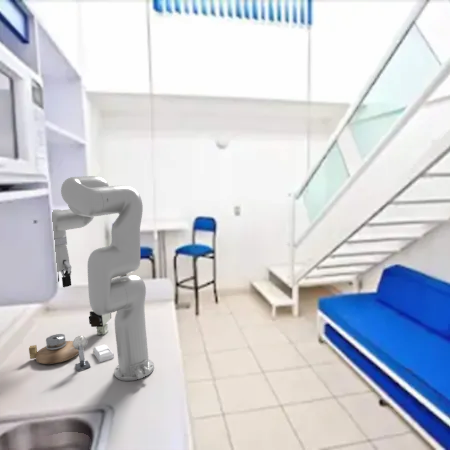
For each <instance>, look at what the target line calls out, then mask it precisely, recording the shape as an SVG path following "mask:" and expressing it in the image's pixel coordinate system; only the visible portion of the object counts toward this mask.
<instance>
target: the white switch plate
mask: <svg viewBox="0 0 450 450" xmlns="http://www.w3.org/2000/svg"><path fill="white" fill-rule="evenodd" d="M92 353H93V354H94V356H95V357H96V359H97V360H98V362H99V363H102V362H105V361H108V360H111V359H114V358H115V356H114V353H113V351H112V350H111V348H109V346H108V345H107V344H104V343H103V344H101V345H97V346H94V347H93V348H92Z"/></svg>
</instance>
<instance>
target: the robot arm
mask: <svg viewBox="0 0 450 450" xmlns="http://www.w3.org/2000/svg"><path fill="white" fill-rule="evenodd" d="M60 195H61V197H62V199H63V201H64V203H66V204H67V206H68V209H56V208H55V209H52V210H53V212H52V222H53V231H54V240H55V252H56V263H57V272H58V273H61V276H62V277H61V281H62V283H61V284H62V288H67V287H71V286H72V280H71V279H72V278H71V275H72V266H71V264H70V263H71V262H70V256H69V252H68V251H69V250H68V248H67V245H68V240H67V239H68V238H67V232H66V231H68V230H75V229H81V228H84V227H86V226H87V225H88V224H89V223H91V222H92V221H93V220H94V218H95V217H101V216H108V215H109V216H110V215H114V214H115V215H116V214H118V216H117V218H115V221H114V223H113V225H112V227H111V243H110V245H108V246H104V247H99V248H97V249H96V248H95V249H94V250H93V251H92V252H91V253H90V254H89V256H88V260H87V282H88V283H87V286H88V287H87V288H88V300H89V301H88V302H89V306H90V308H91V311H92V310H93V311H94V313H96V314H97V315H106V314H110V313H111V314H112V313H115V317H114V332H115V341H116V343H115V344H116V353H117V362H118V364H117V365H116V366H115V368H114V371H113V372H114V377H115V378H116V379H118V380H120V381H125V382H126V381H128V382H130V381H131V382H132V381H137V379H138V380H141V379H143V377H144V378H145V376H146V377H148V376H149V375H150V374H151V373H152V372H153V371H154V369H155V364H154V361H152V360H151V359H149V352H148V340H147V339H148V338H147V328H146V314H145V313H146V312H145V305H146V302H145V301H146V295H147V289H146V288H147V287H146V284H145V282H144V279H143V278H141V277H140V276H138V275H136V274H131V273H133V272H136V271H137V270H138V269H139V268H140V265H141V225H142V219H143V200H142V198H141V196H140V194H139V192H138V191H137V190H136V189H135V188H134V187H132V186H129V185H128V186H127V185H110V186H109V183H108V182H107V180H106V179H104V178H102V177H101V176H95V175H87V176H72V177H71V176H70V177H68V178H66V179H65V180H63V183H62V184H61V189H60ZM113 278H114V279H113ZM59 281H60V275H59V274H58V282H59Z"/></svg>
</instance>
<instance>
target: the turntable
mask: <svg viewBox="0 0 450 450" xmlns="http://www.w3.org/2000/svg"><path fill="white" fill-rule="evenodd" d="M65 341H66V346H65V347H64V348H62V349H59V350H55V351H49V350H47V349H46V346H43V347H42V348H41V349H39V350H38V349H37V348H38V347H37V344H33V345H29V348H28V353H29V360H33V359H35V361H36V362H37V363H39V364H42V365H45V364H46V365H49V364H50V365H51V364H58V363H62V362H66V361H68V360H71V359H73V358H75V357H77V355H79V351H78V350H77V349H75V348H74V346H73V341H74V340H65Z"/></svg>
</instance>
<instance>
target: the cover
mask: <svg viewBox="0 0 450 450" xmlns="http://www.w3.org/2000/svg"><path fill="white" fill-rule="evenodd" d="M66 341H67V340H66V335H65V334H63V333H59V334H57V333H56V334H52V335H49V336H48V337H46V339H45V342H46V346H45V347H46V349H47V350H49V351H55V350H59V349H62V348H64V347H65V346H66Z"/></svg>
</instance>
